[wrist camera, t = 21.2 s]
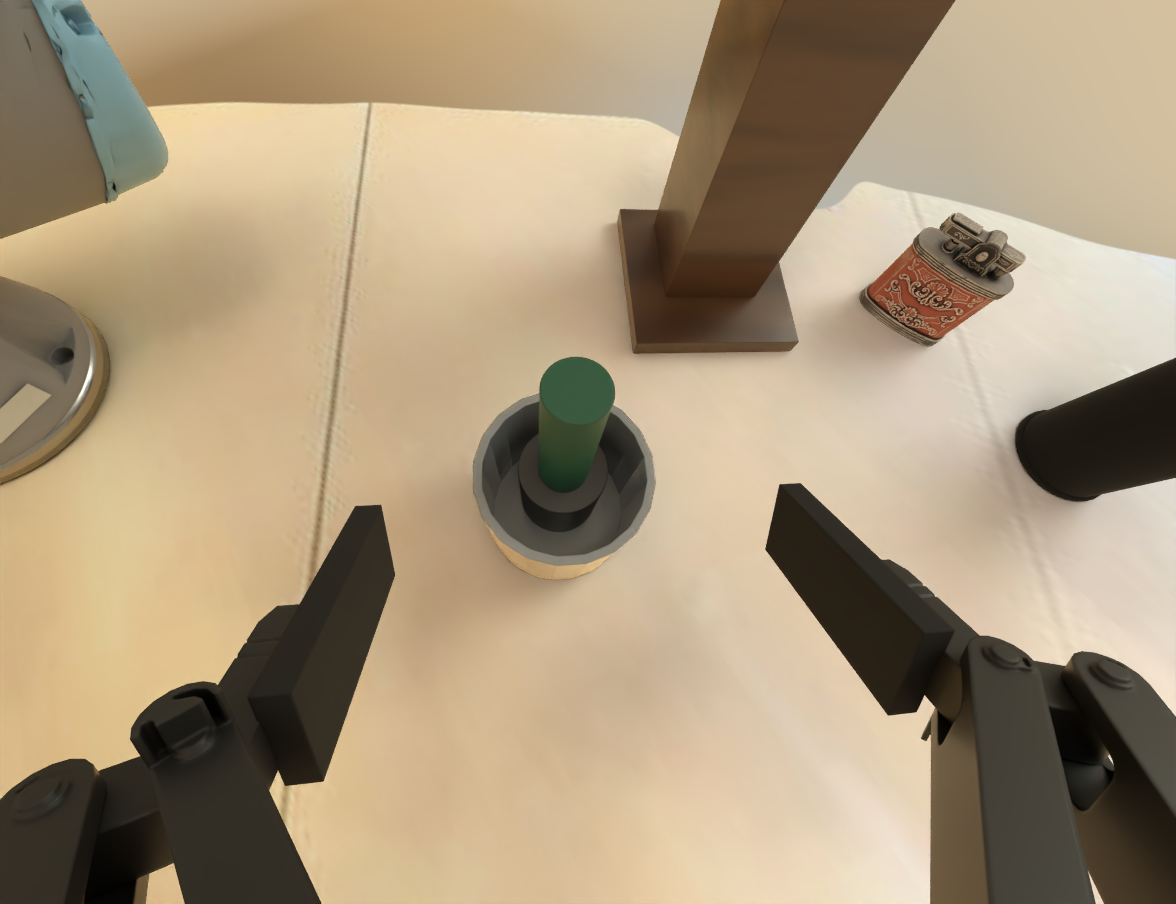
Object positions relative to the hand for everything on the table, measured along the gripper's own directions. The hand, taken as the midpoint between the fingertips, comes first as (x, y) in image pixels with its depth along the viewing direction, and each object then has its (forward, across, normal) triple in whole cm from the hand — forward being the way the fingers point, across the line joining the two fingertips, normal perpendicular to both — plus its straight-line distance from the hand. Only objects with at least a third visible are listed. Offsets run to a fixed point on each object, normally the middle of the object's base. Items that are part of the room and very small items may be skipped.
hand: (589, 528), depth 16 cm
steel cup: (+17, 0, -10) cm, 20 cm away
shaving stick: (+9, 0, -5) cm, 10 cm away
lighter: (+28, +33, +1) cm, 43 cm away
